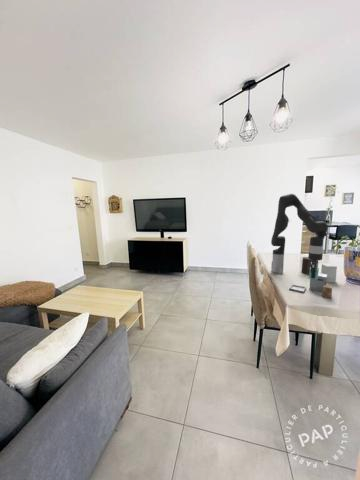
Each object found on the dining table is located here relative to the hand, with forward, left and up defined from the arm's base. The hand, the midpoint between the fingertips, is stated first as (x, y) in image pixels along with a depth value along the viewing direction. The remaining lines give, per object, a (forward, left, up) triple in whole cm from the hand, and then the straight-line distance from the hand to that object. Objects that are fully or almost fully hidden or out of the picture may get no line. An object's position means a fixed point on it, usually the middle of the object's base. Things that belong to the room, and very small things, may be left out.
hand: (313, 276), depth 128 cm
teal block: (0, 0, -1) cm, 1 cm away
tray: (-9, +3, -12) cm, 15 cm away
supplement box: (+6, +36, -12) cm, 38 cm away
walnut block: (+8, +1, -12) cm, 14 cm away
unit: (+2, +11, -12) cm, 16 cm away
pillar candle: (-9, +48, -12) cm, 50 cm away
